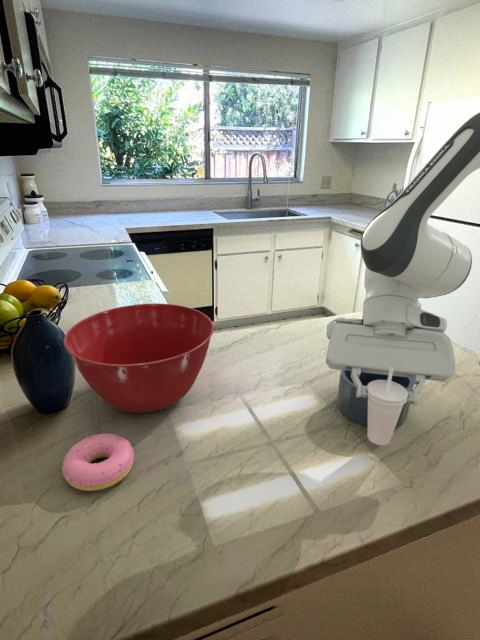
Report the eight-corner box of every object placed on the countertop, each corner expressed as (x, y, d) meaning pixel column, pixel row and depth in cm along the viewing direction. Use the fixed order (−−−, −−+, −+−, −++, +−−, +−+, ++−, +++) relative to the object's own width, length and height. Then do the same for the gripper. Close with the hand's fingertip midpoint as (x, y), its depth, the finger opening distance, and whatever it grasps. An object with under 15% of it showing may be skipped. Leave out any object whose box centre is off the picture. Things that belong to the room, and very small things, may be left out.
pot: (402, 393, 86) (407, 363, 83) (412, 433, 74) (420, 399, 71) (337, 386, 89) (340, 355, 86) (337, 423, 76) (341, 389, 74)
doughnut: (138, 444, 71) (136, 425, 69) (132, 493, 60) (129, 471, 59) (73, 450, 69) (69, 430, 67) (55, 500, 59) (50, 479, 57)
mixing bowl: (138, 461, 67) (129, 381, 61) (47, 401, 83) (33, 332, 77) (241, 388, 87) (241, 323, 81) (153, 351, 103) (148, 294, 97)
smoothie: (358, 446, 67) (370, 372, 61) (359, 423, 72) (370, 354, 67) (399, 454, 65) (415, 379, 59) (397, 430, 71) (411, 359, 65)
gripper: (328, 309, 69) (321, 387, 64) (457, 320, 65) (460, 405, 60) (326, 323, 75) (320, 396, 70) (445, 334, 71) (447, 412, 66)
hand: (386, 400), depth 65 cm, fingers closed on smoothie, 6 cm apart
